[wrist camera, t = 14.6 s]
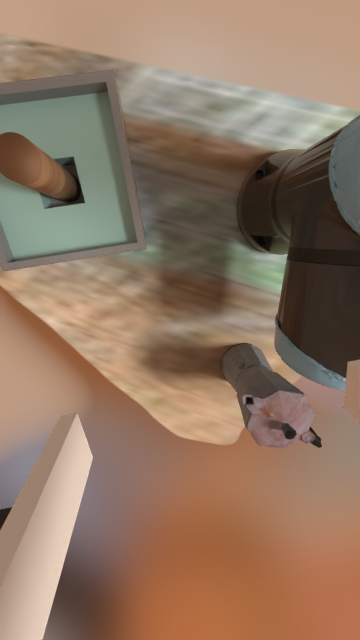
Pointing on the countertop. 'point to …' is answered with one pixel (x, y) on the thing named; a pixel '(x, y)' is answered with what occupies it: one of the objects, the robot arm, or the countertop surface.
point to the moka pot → (268, 400)
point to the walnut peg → (36, 168)
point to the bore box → (80, 160)
